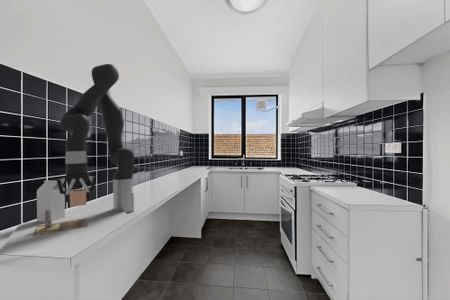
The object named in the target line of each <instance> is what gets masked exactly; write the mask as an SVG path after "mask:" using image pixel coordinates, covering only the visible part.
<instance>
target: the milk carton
mask: <svg viewBox="0 0 450 300" xmlns="http://www.w3.org/2000/svg"><path fill="white" fill-rule="evenodd" d="M63 190H64V191H66V190H65V187H64V186H63ZM65 203H66V195H65V194H60V191H59V187H58V184H57V180H50V179H49V180H44V183H42V185H41V186H40V187H39V188H38V189H37V190H36V219H37V220H36V222H42V223H45V211H46V210H47V209H50V210H51V223H53V222H55V221H59V220H61V219H64V218H66V204H65Z"/></svg>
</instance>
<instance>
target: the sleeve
mask: <svg viewBox="0 0 450 300" xmlns="http://www.w3.org/2000/svg"><path fill="white" fill-rule="evenodd" d="M69 194H70V204H69V207H70V208H72V207H74V208H75V207H80V206H86V205H87V201H86V190H85V189H84V188H78V189H71V191H70V193H69Z"/></svg>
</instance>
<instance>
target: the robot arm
mask: <svg viewBox="0 0 450 300" xmlns="http://www.w3.org/2000/svg"><path fill="white" fill-rule="evenodd" d="M91 78H92V81H93V84H92V86H90V87H89V88H88V89H87V90H85V92H83V93H82V95H81V96H80V97H79V99H78V100H77V102H76V103H75V104H74V106H72V107H71V108H70V109H69V110H67V111H66V112H65V113H64V114H63V116H62V117H61V119H60V127H61V128H62V129H63V130H64V131H66V132H69V133H71V132H72V134H71V136H69V137H67V138H66V139H65V177H64V178H58V179H57V180H56V181H57V184H58V187H59V191H60V194H65V203H68V205H70V191H71V190H73V189H72V188H75V187H83V189H85V190H86V202H88V201H89V200H90V192H92V191H94V190H95V186H96V182H97V181H96V180H97V178H96V177H97V176H95V175H94V176H91V175H89V173H88V155H87V143H86V141H87V138H88V135H89V132H90V131H89V130H90V121H89V118H88V117H90V116H91V115H92V114H93V113H94V111H95V110H96V108H97V106H98V105H100V108H101V114H102V120H103V124H104V128H105V134H106V138H107V144H108V153H109V155H108V156H109V160H110V162H111V163H112V164H113V165H115V166H117V171H116V172H114V174H113V175H112V179H113V184H112V185H113V186H112V187H113V188H112V189H113V211H115V212H124V213H127V214H128V213H131V212H134V211H135V201H134V200H135V199H134V198H135V197H134V196H135V195H134V194H135V193H134V192H133V191H134V190H133V183H134V182H133V175H134V173H135V172H134V171H135V154H134V152H133V150H132V149H130V148H126V147H123V143H122V134H123V130H124V125H125V124H124V123H125V121H124V120H125V119H124V115H123V112H122V109H121V107H120V105H119V104H118V103H117V102H116V101H115V99H114V97H112V95H111V91H110V89H111V88H112V87H113V86H114V85H115V84H116V83H117V82H118V80H119V78H120V73H119V69H118V68H117V67H116V66H115V65H114V64H111V63H106V64H100V65H96V66H94V67H93V68H92V69H91ZM88 180H89V181H90V182H91V184H90V187H88V185H87V184H86V183H87V181H88ZM65 182H66V183H67V184H68V186H67V189H66V190H65V191H64V190H63V187H64V186H63V184H64V183H65Z"/></svg>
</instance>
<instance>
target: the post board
mask: <svg viewBox="0 0 450 300" xmlns="http://www.w3.org/2000/svg"><path fill="white" fill-rule="evenodd" d="M86 227H88V221H87V218H80V219H76V220H75V219H74V220H68V221H61V222H55V223H52V222H51V210H50V209H47V210H46V211H45V222H44V224H43V225H37V226H36V228H35V230H34V232H33V234H32V237H35V236H39V235H40V236H41V235H46V234H51V233H58V232H64V231H69V230H76V229H81V228H86Z"/></svg>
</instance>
